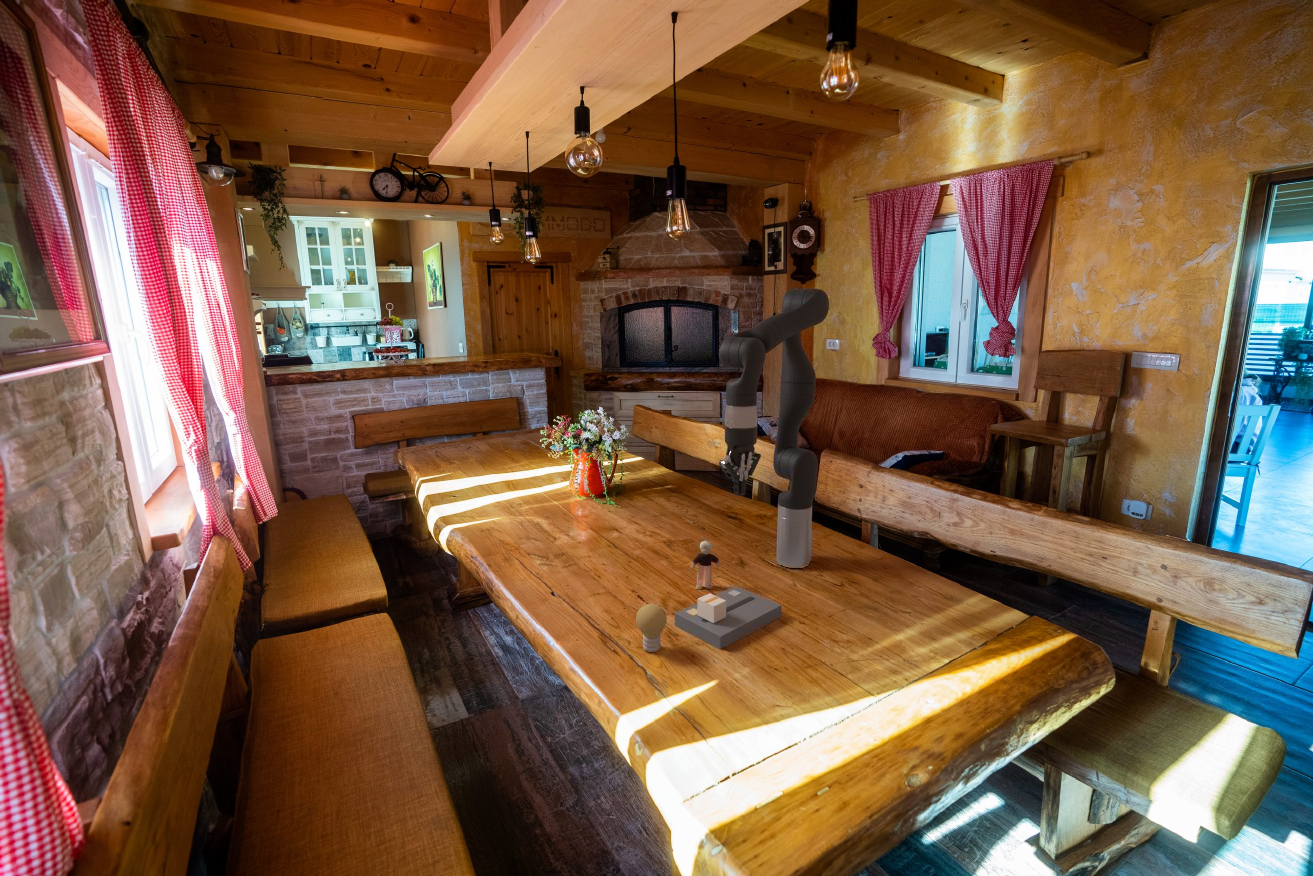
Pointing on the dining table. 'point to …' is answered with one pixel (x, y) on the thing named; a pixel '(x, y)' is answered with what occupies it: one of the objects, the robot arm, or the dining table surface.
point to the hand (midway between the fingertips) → (739, 494)
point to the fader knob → (711, 608)
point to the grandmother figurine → (705, 566)
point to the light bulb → (651, 625)
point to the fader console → (730, 617)
